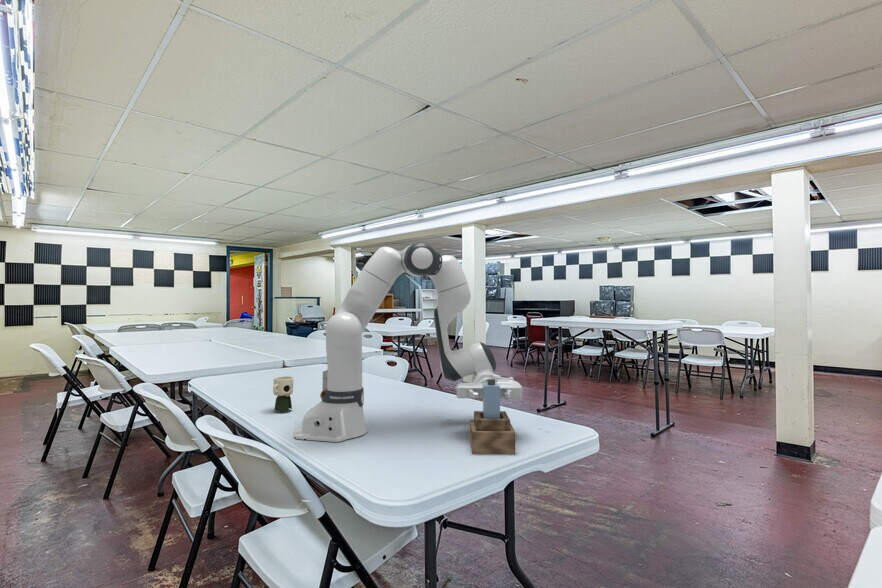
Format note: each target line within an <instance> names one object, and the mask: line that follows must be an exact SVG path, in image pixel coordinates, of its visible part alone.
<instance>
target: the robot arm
mask: <svg viewBox="0 0 882 588" xmlns="http://www.w3.org/2000/svg"><path fill="white" fill-rule="evenodd" d="M403 274H404V275H407V276H410V277H418V278H419V277H425V276H427V277H429V278H430V280H431V282H432V283H433V284H434V287H435V291H436V294H437V306H436V307H435V309H434V310H433V318H434V319H433V320H434V324H435V325H434V326H435V334H436V340H437V345H438V351H439V365H440V367H439V368H440V371H441V374H442V376H443V378H445V379H446V380H448V381H450V382H454V383H455V382H457V381H460V380H462V379H463V378H465V377H468V376H471V375H472V376H471V382H458V383H457V385H455V387H454V390H456V398H457V399H472V400H478V399H479V400H480V401H483V383H487V379H495V383H498V384H499V386H500V399H505V400H511V399H514V400H515V399H522V398H523V386H522V385H521V384H520V383H519V382H518V381H516V380H515V379H514V377H512V376H508V375H507V376H505V375H499V374H496V373H495V371H496V369H497V362H496V359H495V357H494V355H493V354H494V353H493V352H492V350H491V348H490V347H489V346H488V345H487V344H486V343H484V342H481V341H479V342H475V343H473V344H470V345H466V346H464V347H462V348H458V349H455V350H451V346H450V340H449V339H450V338H449V334H448V333H449V332H448V327H449V325H450V323H451V322H453V321H452V320H454V319H455V318H456V317H457V316H458V315H460V314H461V313H462V312H463V311H464V310H465V309H466V308H467V307H468V305H469V304H470V302H471V298H472V297H471V290H470V286H469V283H468V280H467V277H466V274H465V273H464V270H463V269H462V266H461V264H460V262H459V260H458V259H457V258H456V257H455V256H454V255H452V254H451V255H449V254H448V255H447V254H446V255H445V254H444V255H441V254H440V253H439V252H438V251H437V250H436V249H435V248H433V247H432V246H431V245H430V244H429V243H425V242H415V243H412V244H409V245H408V246H406V247H405V248H404V249H402V250H401V251H399V250H396V249H395V248H392V247H390V246H382V247H379V248H378V249H377V250H376V251H375V252H374V253H372V255H371V257H369V259H368V260H367V262H366V263H365V264H364V266H363V267H362V269H361V271H360V273H359V274H358V275H357V277H356V278H355V280H354V281H353V283H352V285H351V287H350V288H349V290H348V291H347V293H346V295H345V297H344V299H343V301H342V303H340V306H339V307H338V309H337V311H336V312H335V314H334V315H332V316H331V317H330V318H329V319H328V320H327V322H326V323H325V324H326V325H325V328H324V329H325V331H324V332H325V351H326V363H327V365H326V366H327V368H326V369H327V370H326V371H327V387H326V388H325V389H323V391H320V393H319V395H320V396H319V398H320V399H321V400H320V401H319V402H318V403H317V404H315V405H314V406H313V407H312V408H310V409H309V410H308V411H307V412H306V413H305V415H304V416H303V418H302V423H301V426H299V427H298V428H297V429H295V431H294V435H293V438H294V437H295V438H296V439H295V438H294V439H295V440H304V439H306V440H305V441H316V442H318V441H319V442H331V443H333V442H334V443H340V442H343V441H347V440H348V439H349V440H350V439H353V438H354V439H355V438H357V437H361V436H363V435H366V433H367V432H368V427H367V425H366V421H365V420H366V419H365V414H364V404H365V391H364V389H365V388H364V386H363V333H364V332H365V329H366V328H367V327H368V325H369V323H370V321H371V320H372V318H373V317H374V315H375V314H376V312H377V311H378V309H379V307H380V306H381V304H382V303H383V301H384V299H385V298H386V296H387V295H388V293H389V291H390V290H391V288H392V287H393V285H394V283H395V281H396V280H397V279H398V277H399V276H401V275H403Z"/></svg>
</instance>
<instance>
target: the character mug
mask: <svg viewBox="0 0 882 588" xmlns="http://www.w3.org/2000/svg"><path fill="white" fill-rule="evenodd" d="M272 393H273V395H274V396H276V398H275V404H274V411H275V412H279V413H280V412H281V413H286V412H285V411H287V412H290V410H291V409H292V410H293V405H292V404H293V403H292V398H291V395H292V394H293V393H294V376H290V375H283V376H281V375H280V376H275V377H274V378H273V389H272Z"/></svg>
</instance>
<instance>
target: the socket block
mask: <svg viewBox="0 0 882 588" xmlns="http://www.w3.org/2000/svg"><path fill="white" fill-rule="evenodd" d="M469 443H470V449H471V450H470V451H471V455H516V431H515V429H514V427H513V425H512V424H511V419H510V417H509V415H508V413H507V412H506V411H505V410H504V411H501V410H500V419H483V410H480V411H479V410H474V411H473V419H469Z"/></svg>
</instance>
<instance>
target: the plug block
mask: <svg viewBox="0 0 882 588" xmlns="http://www.w3.org/2000/svg"><path fill="white" fill-rule="evenodd" d="M482 411H483V419H500V411H501V398H500V386H499V384H498V383H495V379H487V383H483V400H482Z"/></svg>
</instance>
